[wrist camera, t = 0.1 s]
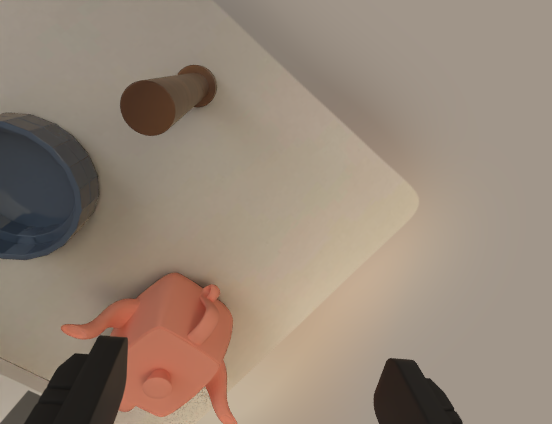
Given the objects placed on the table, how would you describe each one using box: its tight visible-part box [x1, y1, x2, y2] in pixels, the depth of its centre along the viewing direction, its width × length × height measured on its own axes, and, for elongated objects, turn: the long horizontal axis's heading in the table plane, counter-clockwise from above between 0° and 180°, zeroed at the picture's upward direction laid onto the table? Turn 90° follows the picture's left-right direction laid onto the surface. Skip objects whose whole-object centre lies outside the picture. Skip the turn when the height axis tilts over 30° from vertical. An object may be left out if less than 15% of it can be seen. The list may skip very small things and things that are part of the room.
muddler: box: [120, 65, 217, 136], centre depth 28 cm, size 4×4×22 cm
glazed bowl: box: [0, 113, 99, 260], centre depth 37 cm, size 14×14×6 cm
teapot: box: [61, 273, 237, 424], centre depth 42 cm, size 15×17×13 cm
